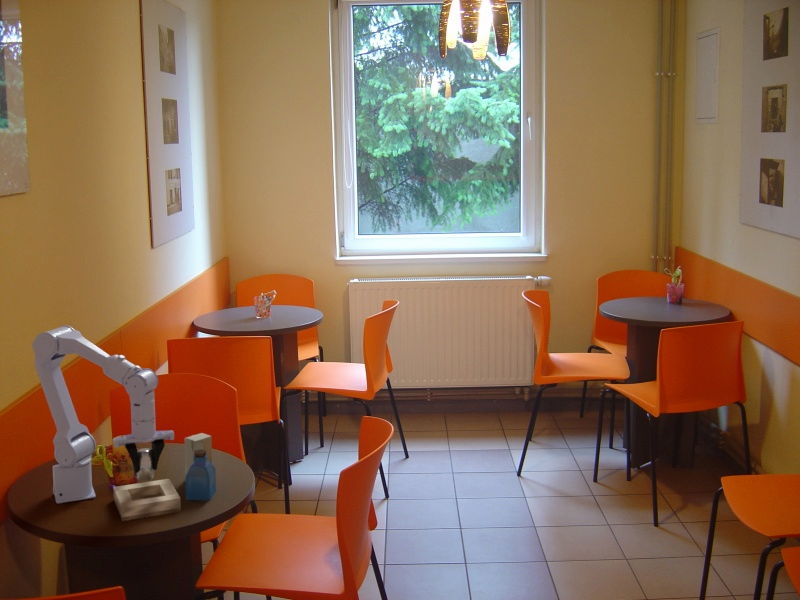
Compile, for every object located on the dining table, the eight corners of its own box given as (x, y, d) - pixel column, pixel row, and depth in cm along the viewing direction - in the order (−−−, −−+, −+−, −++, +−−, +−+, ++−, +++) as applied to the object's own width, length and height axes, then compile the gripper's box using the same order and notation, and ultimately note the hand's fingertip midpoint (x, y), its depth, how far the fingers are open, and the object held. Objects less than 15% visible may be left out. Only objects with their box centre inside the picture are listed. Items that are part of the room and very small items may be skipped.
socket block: (122, 521, 206) (121, 507, 206) (113, 500, 219) (113, 487, 218) (180, 511, 212) (180, 498, 212) (169, 491, 225) (168, 478, 224)
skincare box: (194, 484, 229) (193, 441, 227) (184, 480, 232) (183, 437, 230) (213, 477, 234) (212, 435, 232) (202, 474, 237) (201, 432, 235)
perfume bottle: (192, 490, 226) (191, 447, 224) (215, 491, 226) (214, 447, 223) (186, 499, 220) (184, 455, 218) (210, 500, 219) (209, 456, 217)
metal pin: (138, 481, 213) (137, 454, 212) (136, 476, 217) (134, 449, 216) (155, 478, 215) (153, 451, 214) (152, 473, 218) (151, 447, 217)
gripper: (115, 426, 206) (118, 480, 208) (176, 419, 213) (177, 470, 215) (111, 418, 212) (113, 470, 215) (170, 411, 219) (171, 461, 221)
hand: (145, 470), depth 215 cm, fingers closed on metal pin, 4 cm apart
